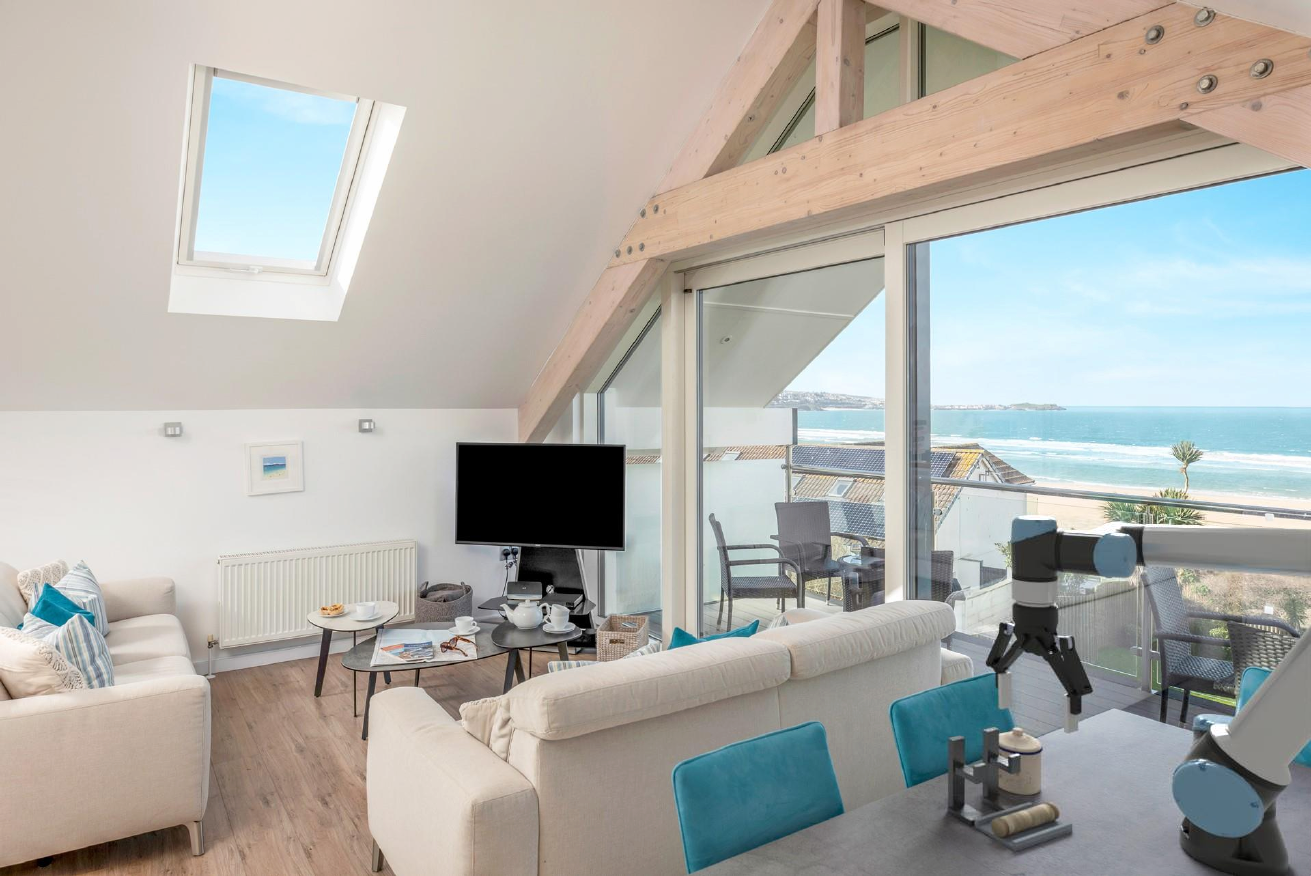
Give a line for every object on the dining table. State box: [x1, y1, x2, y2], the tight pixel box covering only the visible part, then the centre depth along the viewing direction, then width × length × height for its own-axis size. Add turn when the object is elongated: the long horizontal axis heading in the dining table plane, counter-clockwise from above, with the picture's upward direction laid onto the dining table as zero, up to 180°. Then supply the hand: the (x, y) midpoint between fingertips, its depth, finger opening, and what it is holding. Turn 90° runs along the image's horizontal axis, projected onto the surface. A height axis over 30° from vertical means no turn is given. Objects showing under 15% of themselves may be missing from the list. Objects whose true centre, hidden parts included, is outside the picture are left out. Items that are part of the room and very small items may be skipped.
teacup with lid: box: [999, 727, 1044, 796], centre depth 164 cm, size 12×9×12 cm
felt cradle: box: [974, 801, 1073, 852], centre depth 147 cm, size 9×14×2 cm, turn 116°
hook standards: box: [947, 726, 1021, 827], centre depth 154 cm, size 6×13×14 cm, turn 116°
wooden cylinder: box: [991, 801, 1061, 838], centre depth 147 cm, size 14×3×3 cm, turn 115°
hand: (1036, 719), depth 147 cm, fingers open, 13 cm apart
